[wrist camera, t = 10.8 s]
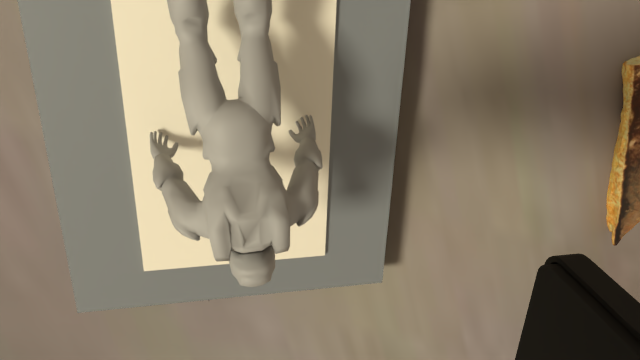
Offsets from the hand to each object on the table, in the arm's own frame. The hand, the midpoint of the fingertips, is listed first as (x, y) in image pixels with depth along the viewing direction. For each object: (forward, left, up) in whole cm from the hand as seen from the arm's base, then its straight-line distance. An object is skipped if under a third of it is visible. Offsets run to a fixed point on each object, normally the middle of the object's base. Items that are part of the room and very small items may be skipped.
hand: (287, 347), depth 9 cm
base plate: (0, 0, -15) cm, 15 cm away
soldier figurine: (-1, 0, -14) cm, 14 cm away
